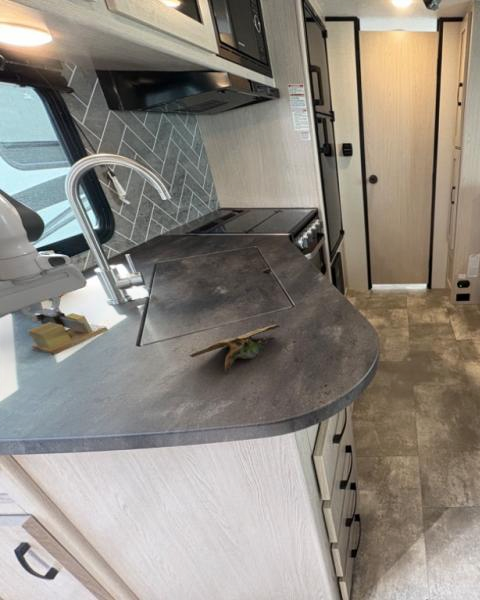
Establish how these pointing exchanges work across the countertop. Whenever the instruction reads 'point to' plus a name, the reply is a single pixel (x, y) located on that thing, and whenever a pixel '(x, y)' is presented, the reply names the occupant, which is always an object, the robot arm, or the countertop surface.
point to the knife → (62, 320)
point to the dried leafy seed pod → (239, 347)
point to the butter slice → (79, 319)
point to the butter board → (74, 339)
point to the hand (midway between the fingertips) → (48, 317)
